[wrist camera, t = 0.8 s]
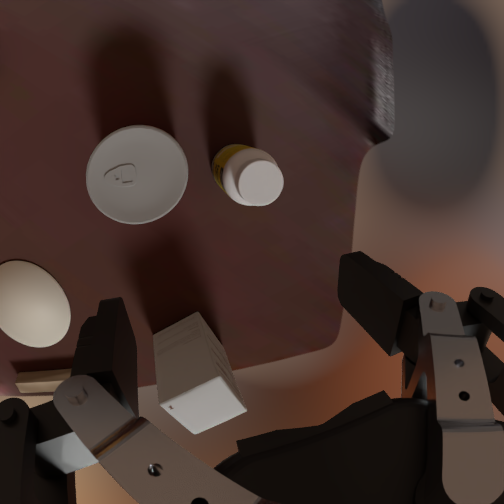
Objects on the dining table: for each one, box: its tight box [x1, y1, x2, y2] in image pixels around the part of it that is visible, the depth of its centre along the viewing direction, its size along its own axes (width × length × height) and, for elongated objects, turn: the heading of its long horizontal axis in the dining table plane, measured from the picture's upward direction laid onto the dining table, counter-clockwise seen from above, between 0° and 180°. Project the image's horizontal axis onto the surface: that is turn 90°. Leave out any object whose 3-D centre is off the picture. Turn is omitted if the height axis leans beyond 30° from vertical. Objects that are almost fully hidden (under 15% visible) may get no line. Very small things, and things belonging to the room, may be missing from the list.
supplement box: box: [153, 311, 247, 434], centre depth 36 cm, size 7×7×13 cm
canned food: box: [86, 125, 188, 224], centre depth 27 cm, size 8×8×11 cm
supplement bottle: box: [212, 144, 283, 206], centre depth 31 cm, size 5×5×10 cm
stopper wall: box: [15, 368, 72, 393], centre depth 37 cm, size 2×14×2 cm, turn 92°
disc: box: [0, 261, 71, 347], centre depth 33 cm, size 13×13×1 cm
